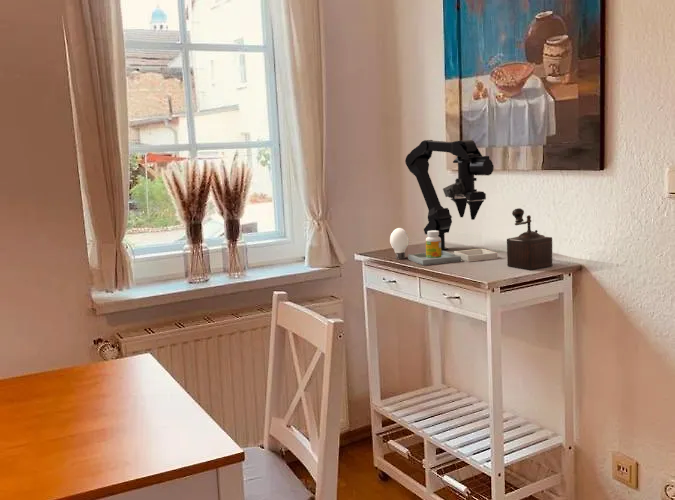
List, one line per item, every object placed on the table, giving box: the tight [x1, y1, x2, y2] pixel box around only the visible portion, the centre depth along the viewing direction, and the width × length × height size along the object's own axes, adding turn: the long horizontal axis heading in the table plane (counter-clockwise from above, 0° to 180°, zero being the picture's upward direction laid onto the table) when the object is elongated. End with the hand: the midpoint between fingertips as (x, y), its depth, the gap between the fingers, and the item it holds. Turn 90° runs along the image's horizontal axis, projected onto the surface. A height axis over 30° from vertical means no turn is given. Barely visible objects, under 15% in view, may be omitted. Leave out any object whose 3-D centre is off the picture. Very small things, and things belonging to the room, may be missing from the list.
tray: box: [407, 250, 462, 266], centre depth 239 cm, size 14×14×2 cm
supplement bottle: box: [425, 230, 442, 259], centre depth 239 cm, size 5×5×10 cm
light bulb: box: [389, 227, 410, 260], centre depth 247 cm, size 7×7×11 cm
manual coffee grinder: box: [506, 208, 554, 271], centre depth 221 cm, size 16×11×18 cm
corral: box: [453, 248, 499, 263], centre depth 240 cm, size 11×11×2 cm
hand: (467, 218), depth 248 cm, fingers open, 9 cm apart
